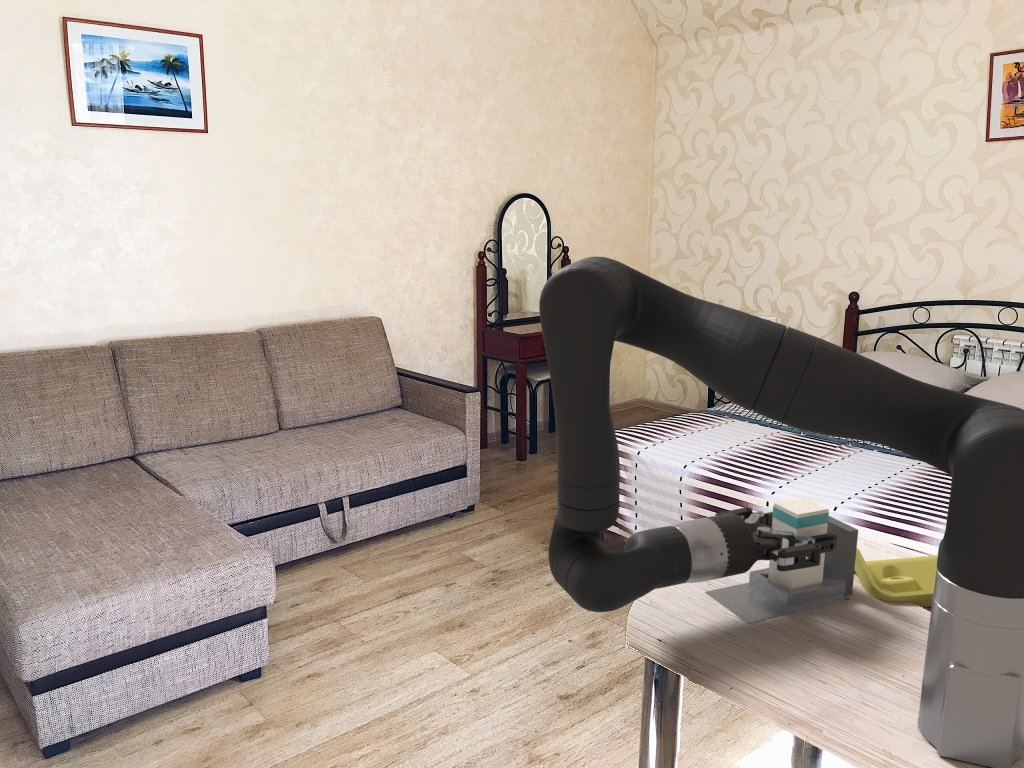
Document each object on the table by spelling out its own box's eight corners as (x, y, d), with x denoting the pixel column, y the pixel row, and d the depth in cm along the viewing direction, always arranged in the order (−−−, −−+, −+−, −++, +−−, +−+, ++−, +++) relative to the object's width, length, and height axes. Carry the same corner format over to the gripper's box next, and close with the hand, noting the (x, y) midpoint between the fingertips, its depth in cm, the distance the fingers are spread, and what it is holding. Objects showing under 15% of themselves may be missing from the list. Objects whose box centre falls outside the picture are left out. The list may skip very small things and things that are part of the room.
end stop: (842, 606, 111) (849, 531, 108) (804, 584, 117) (810, 512, 115) (851, 604, 111) (858, 529, 109) (813, 582, 118) (819, 511, 115)
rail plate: (747, 634, 104) (748, 608, 103) (703, 602, 112) (705, 577, 111) (847, 610, 110) (850, 585, 109) (799, 581, 118) (801, 558, 117)
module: (790, 602, 109) (797, 514, 106) (767, 587, 113) (773, 502, 110) (821, 595, 110) (829, 508, 108) (797, 581, 115) (804, 497, 112)
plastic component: (878, 598, 108) (849, 538, 116) (866, 632, 113) (839, 572, 121) (1031, 585, 108) (992, 526, 116) (1013, 620, 113) (977, 561, 121)
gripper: (745, 541, 97) (854, 521, 103) (675, 500, 110) (776, 484, 116) (741, 601, 99) (848, 577, 105) (673, 554, 112) (772, 535, 118)
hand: (810, 529), depth 110 cm, fingers open, 8 cm apart
